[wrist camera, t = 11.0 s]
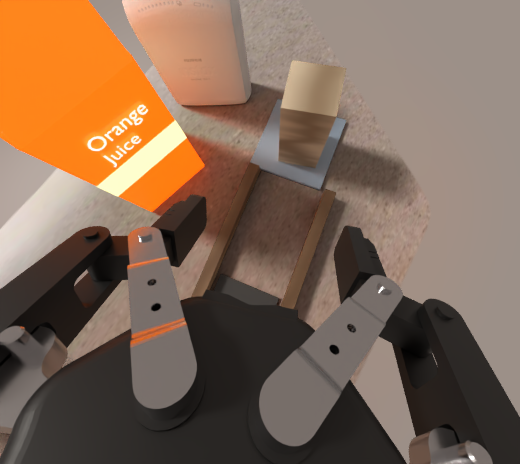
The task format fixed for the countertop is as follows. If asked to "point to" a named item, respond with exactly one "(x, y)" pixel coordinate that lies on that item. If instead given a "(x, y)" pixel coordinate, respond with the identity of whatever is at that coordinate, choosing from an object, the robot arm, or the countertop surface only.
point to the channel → (231, 225)
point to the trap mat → (244, 292)
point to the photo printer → (195, 48)
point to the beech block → (308, 111)
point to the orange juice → (87, 103)
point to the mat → (304, 175)
